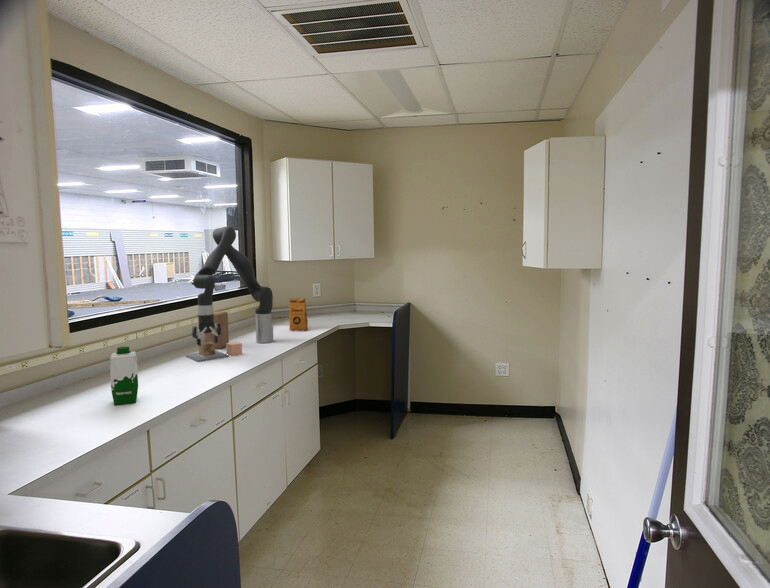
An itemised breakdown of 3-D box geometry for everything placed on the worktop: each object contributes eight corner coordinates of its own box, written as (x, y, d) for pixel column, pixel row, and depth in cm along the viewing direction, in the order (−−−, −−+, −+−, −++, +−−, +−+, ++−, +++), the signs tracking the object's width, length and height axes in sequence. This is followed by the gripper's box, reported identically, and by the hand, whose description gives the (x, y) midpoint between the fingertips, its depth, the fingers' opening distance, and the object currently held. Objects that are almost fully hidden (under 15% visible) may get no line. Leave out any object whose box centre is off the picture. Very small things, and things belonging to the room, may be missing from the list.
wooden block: (220, 349, 271) (219, 313, 269) (204, 348, 273) (202, 313, 271) (229, 345, 281) (228, 311, 279) (213, 345, 283) (212, 311, 281)
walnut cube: (210, 352, 257) (210, 341, 257) (215, 354, 253) (214, 343, 252) (199, 354, 253) (198, 343, 253) (203, 356, 249) (203, 345, 248)
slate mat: (215, 352, 264) (215, 350, 264) (228, 356, 253) (228, 354, 253) (185, 356, 254) (185, 354, 254) (198, 361, 242) (197, 359, 242)
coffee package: (305, 331, 326) (304, 299, 323) (287, 331, 327) (286, 298, 325) (309, 329, 335) (309, 297, 333) (292, 328, 337) (291, 297, 335)
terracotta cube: (237, 352, 263) (236, 341, 263) (242, 354, 259) (241, 343, 258) (226, 354, 259) (226, 343, 259) (231, 356, 255) (231, 345, 254)
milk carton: (139, 396, 187) (136, 345, 185) (138, 403, 178) (135, 350, 176) (113, 399, 183) (110, 347, 181) (110, 406, 175) (107, 352, 173)
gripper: (216, 311, 258) (217, 341, 260) (189, 314, 249) (190, 345, 251) (222, 312, 253) (223, 343, 255) (194, 315, 243) (196, 347, 245)
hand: (207, 344), depth 253 cm, fingers open, 8 cm apart
